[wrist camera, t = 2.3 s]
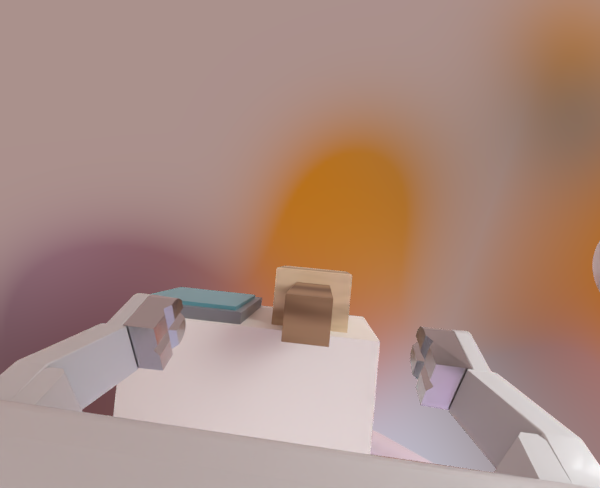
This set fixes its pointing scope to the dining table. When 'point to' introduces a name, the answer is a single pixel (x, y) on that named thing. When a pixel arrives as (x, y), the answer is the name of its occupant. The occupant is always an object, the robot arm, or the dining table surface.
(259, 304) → the pad
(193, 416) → the white block
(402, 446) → the dining table surface
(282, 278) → the stamp
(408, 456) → the dining table surface
